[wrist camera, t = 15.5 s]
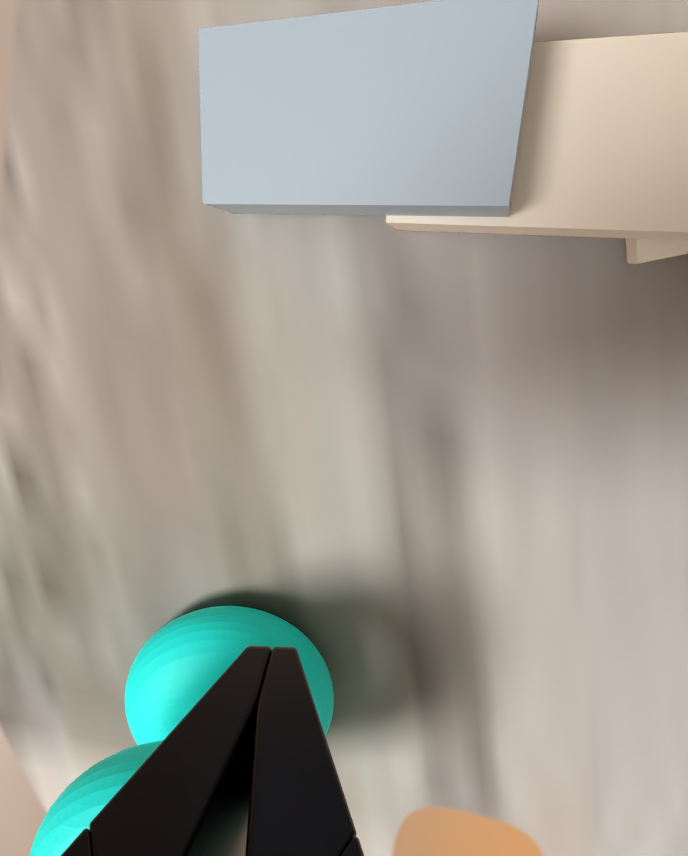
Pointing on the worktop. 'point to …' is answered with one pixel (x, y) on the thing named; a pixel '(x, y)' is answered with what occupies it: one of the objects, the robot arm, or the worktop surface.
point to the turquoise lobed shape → (176, 702)
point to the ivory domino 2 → (653, 249)
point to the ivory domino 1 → (596, 144)
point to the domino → (367, 110)
